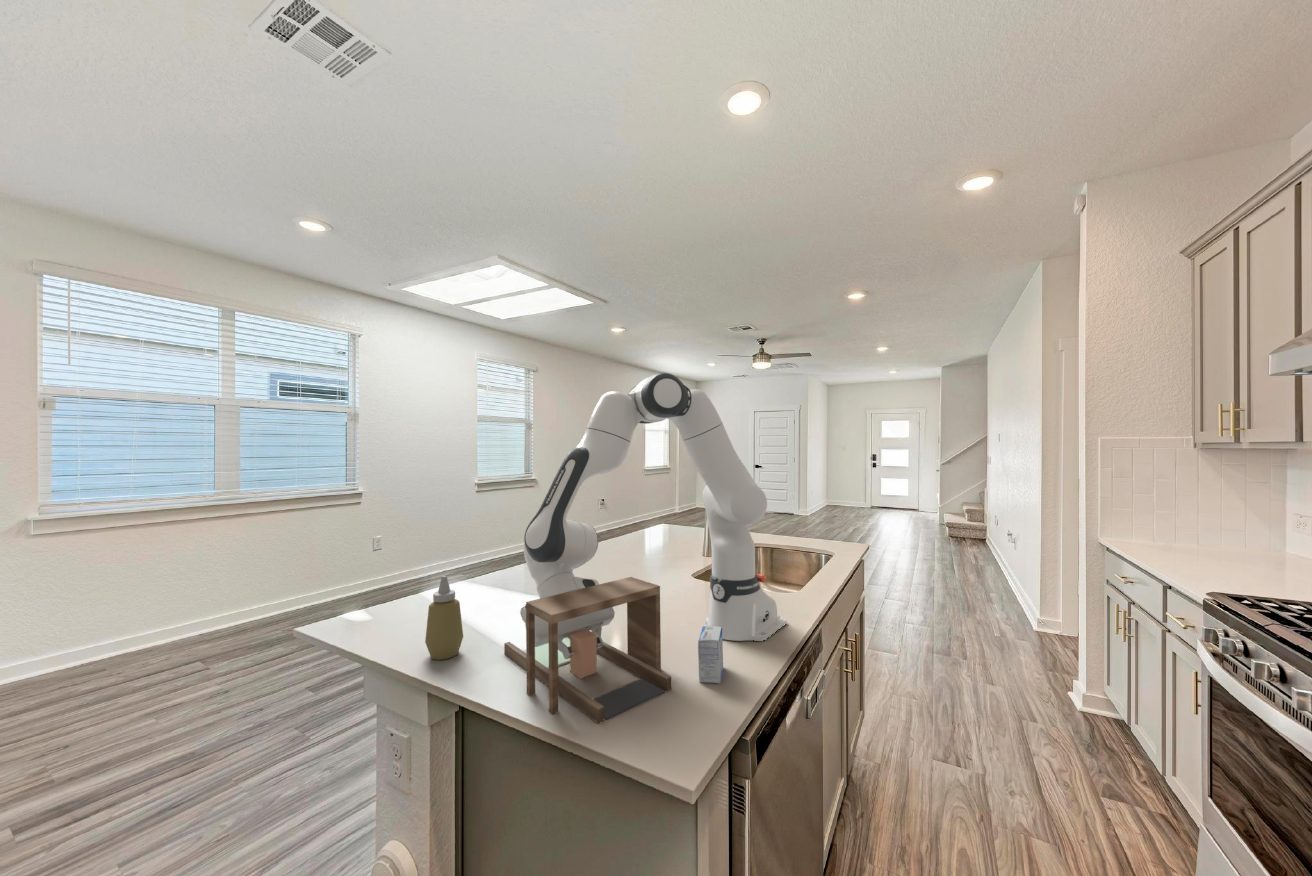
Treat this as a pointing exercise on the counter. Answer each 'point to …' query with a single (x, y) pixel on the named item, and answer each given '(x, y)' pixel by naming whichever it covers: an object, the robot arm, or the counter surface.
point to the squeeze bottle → (444, 623)
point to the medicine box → (710, 654)
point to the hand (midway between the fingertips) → (585, 652)
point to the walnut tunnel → (639, 637)
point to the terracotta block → (583, 653)
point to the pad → (543, 654)
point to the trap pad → (628, 697)
